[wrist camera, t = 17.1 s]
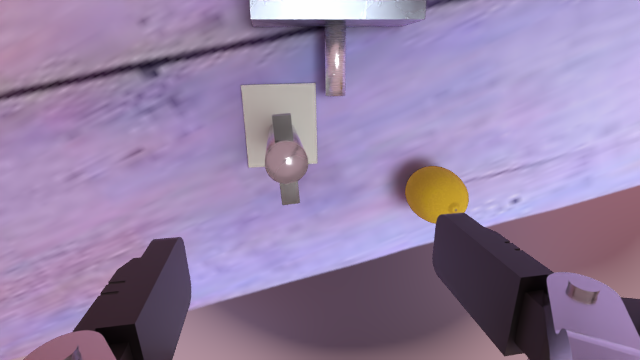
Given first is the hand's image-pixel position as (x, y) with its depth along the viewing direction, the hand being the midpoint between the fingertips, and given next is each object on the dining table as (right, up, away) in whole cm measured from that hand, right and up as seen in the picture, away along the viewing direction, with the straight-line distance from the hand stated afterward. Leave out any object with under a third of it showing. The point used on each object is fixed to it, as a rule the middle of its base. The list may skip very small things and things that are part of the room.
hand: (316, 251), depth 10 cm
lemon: (+11, +2, +27) cm, 29 cm away
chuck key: (-4, +7, +22) cm, 24 cm away
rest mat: (-4, +8, +23) cm, 24 cm away
